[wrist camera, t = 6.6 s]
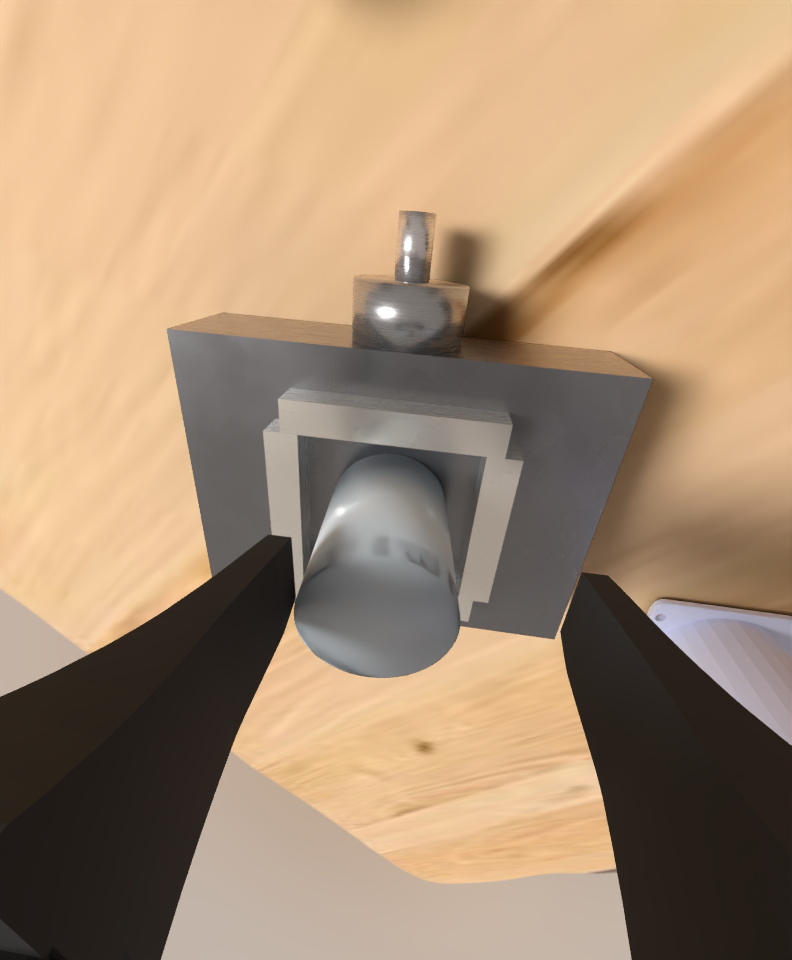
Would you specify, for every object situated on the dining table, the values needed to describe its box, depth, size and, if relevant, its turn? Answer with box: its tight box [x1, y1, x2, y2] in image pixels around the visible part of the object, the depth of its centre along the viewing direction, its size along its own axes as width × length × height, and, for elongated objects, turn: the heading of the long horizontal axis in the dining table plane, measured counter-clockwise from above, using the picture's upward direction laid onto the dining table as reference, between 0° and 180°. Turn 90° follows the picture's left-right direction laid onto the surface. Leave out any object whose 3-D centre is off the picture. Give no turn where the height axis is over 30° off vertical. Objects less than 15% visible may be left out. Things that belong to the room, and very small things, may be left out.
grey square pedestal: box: [167, 211, 653, 639], centre depth 17 cm, size 16×16×5 cm
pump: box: [294, 454, 460, 678], centre depth 14 cm, size 4×4×6 cm
